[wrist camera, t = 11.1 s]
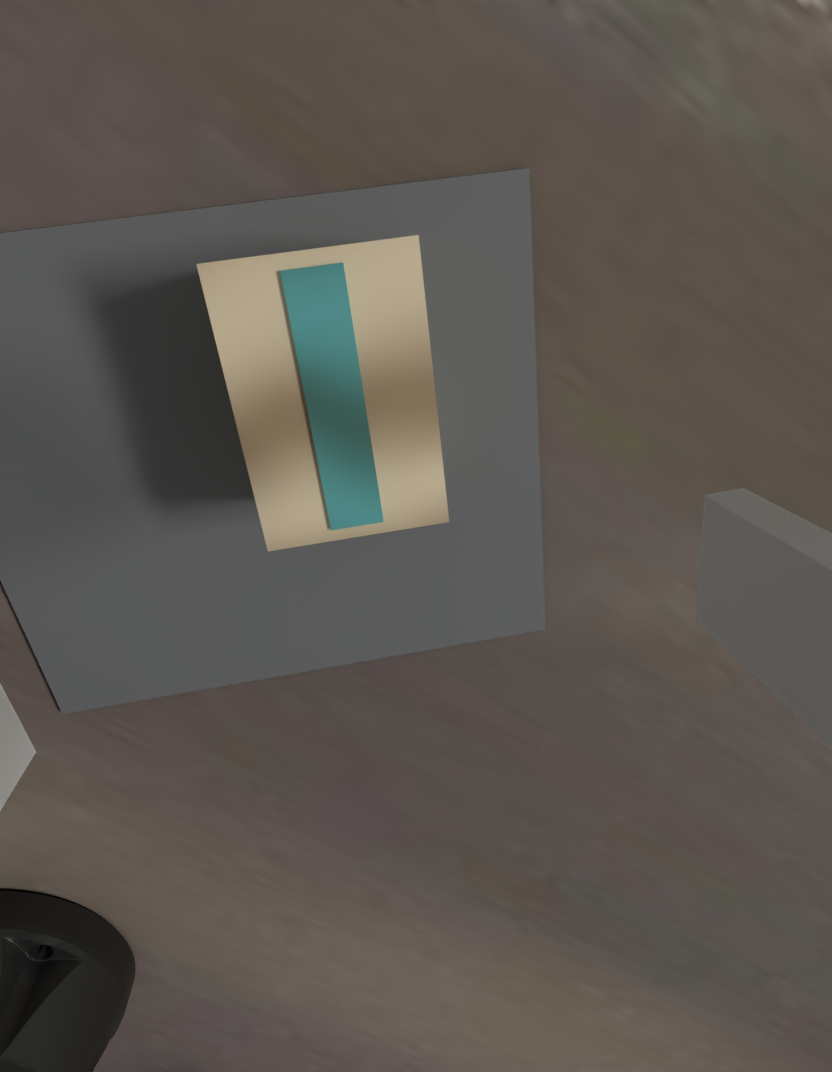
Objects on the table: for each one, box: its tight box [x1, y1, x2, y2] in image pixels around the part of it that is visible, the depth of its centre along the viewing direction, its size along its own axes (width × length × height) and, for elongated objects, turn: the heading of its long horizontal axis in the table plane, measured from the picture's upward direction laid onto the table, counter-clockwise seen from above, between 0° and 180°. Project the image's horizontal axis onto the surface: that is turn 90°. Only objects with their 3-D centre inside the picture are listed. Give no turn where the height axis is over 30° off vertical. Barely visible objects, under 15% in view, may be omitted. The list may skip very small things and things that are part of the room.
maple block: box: [196, 235, 449, 551], centre depth 24 cm, size 10×7×6 cm
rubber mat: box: [0, 168, 546, 714], centre depth 28 cm, size 26×22×1 cm
